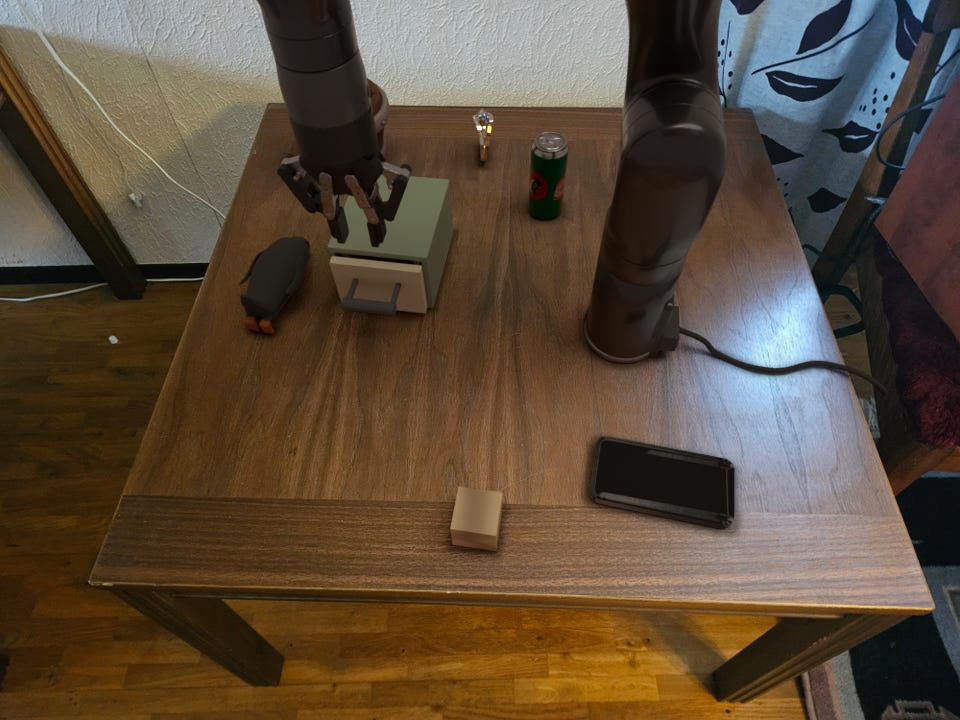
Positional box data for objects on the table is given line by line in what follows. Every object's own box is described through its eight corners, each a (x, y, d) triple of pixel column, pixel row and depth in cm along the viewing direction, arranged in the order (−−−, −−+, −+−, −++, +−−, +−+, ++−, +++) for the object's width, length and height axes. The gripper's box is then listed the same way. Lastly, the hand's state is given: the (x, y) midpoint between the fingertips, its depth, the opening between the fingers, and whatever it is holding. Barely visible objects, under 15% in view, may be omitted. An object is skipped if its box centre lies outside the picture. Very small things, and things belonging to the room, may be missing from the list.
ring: (474, 144, 105) (473, 99, 98) (494, 144, 105) (494, 100, 98) (472, 171, 101) (471, 127, 94) (493, 171, 101) (492, 127, 94)
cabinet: (433, 308, 84) (427, 257, 77) (342, 298, 86) (326, 247, 78) (453, 232, 93) (449, 179, 85) (369, 224, 94) (358, 171, 86)
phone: (734, 527, 65) (588, 497, 67) (731, 530, 66) (587, 501, 68) (734, 459, 70) (597, 433, 72) (731, 463, 71) (596, 437, 73)
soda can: (559, 223, 93) (567, 155, 84) (525, 219, 94) (529, 150, 84) (563, 200, 96) (571, 132, 86) (530, 196, 97) (534, 128, 87)
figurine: (294, 347, 84) (332, 255, 90) (266, 310, 75) (311, 210, 81) (243, 336, 86) (285, 246, 91) (210, 298, 76) (258, 201, 82)
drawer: (417, 342, 80) (411, 302, 74) (331, 332, 81) (317, 291, 75) (445, 241, 90) (441, 198, 84) (367, 233, 92) (358, 190, 85)
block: (502, 509, 68) (502, 492, 64) (496, 551, 66) (496, 535, 62) (460, 503, 69) (458, 485, 65) (452, 544, 66) (449, 529, 62)
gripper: (237, 118, 55) (289, 258, 69) (394, 131, 54) (415, 271, 68) (267, 70, 60) (310, 211, 74) (413, 81, 58) (429, 223, 72)
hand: (360, 239), depth 71 cm, fingers open, 3 cm apart
